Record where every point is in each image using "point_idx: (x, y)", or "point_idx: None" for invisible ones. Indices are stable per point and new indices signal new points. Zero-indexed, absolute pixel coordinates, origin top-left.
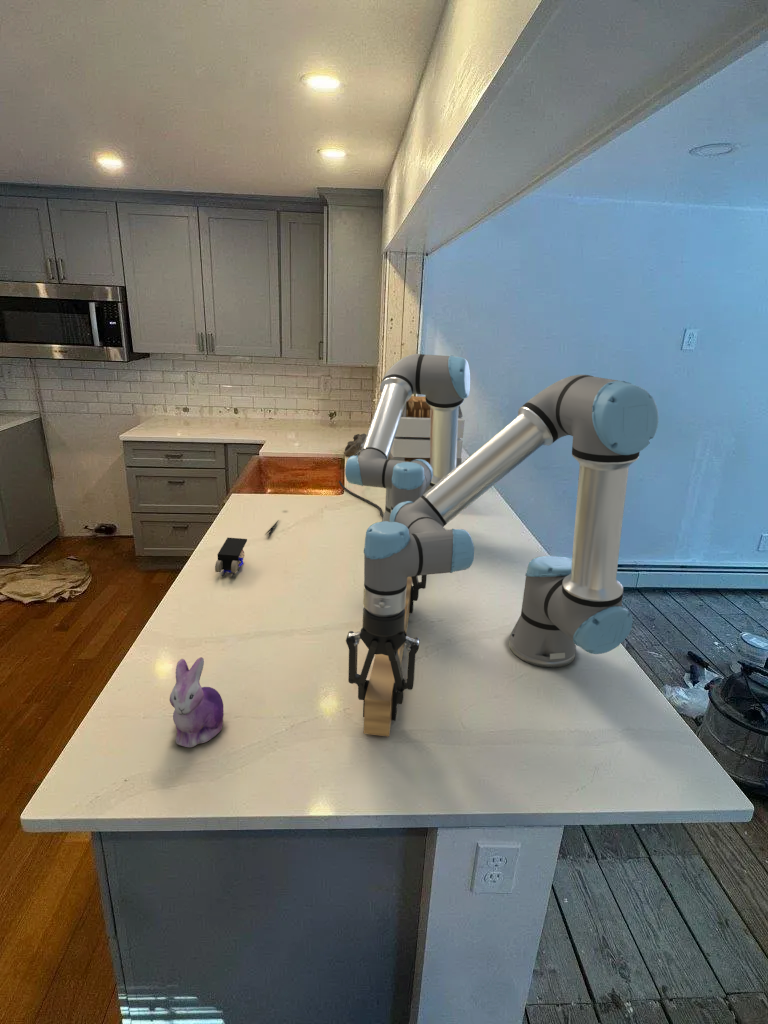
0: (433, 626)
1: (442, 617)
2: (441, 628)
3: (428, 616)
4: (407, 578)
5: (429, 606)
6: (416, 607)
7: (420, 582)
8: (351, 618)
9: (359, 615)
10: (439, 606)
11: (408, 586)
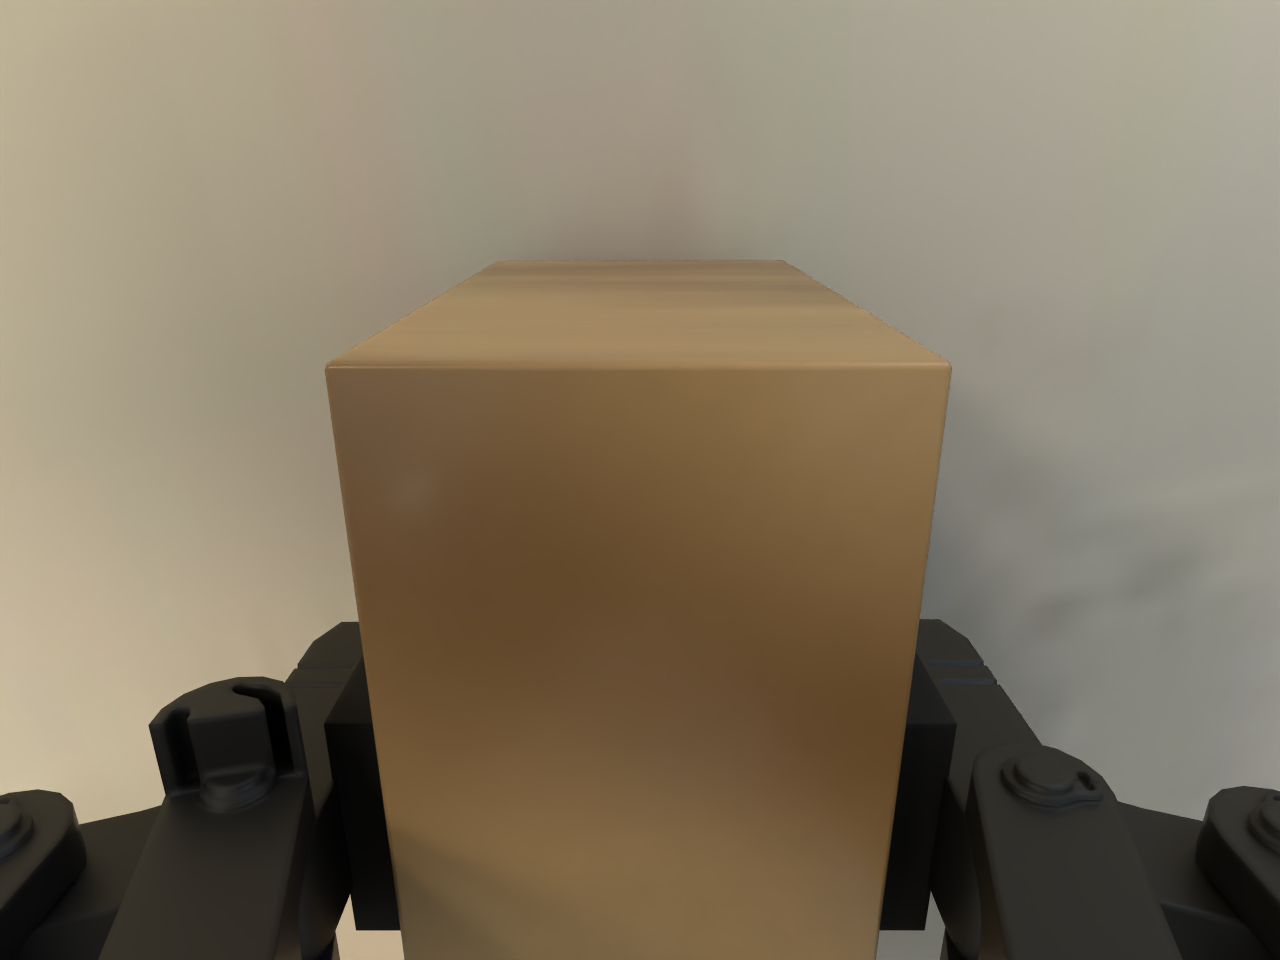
0: (1056, 707)
1: (1210, 490)
2: (1146, 729)
3: (1019, 501)
4: (769, 531)
5: (1066, 209)
6: (859, 285)
7: (1192, 953)
8: (67, 721)
9: (131, 644)
10: (1230, 175)
11: (811, 944)
